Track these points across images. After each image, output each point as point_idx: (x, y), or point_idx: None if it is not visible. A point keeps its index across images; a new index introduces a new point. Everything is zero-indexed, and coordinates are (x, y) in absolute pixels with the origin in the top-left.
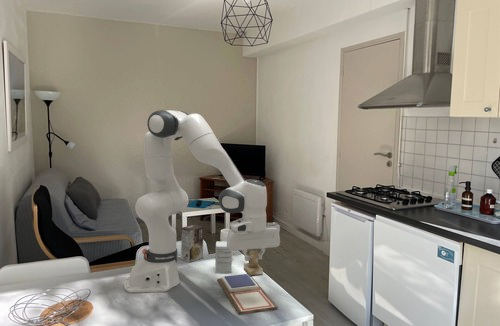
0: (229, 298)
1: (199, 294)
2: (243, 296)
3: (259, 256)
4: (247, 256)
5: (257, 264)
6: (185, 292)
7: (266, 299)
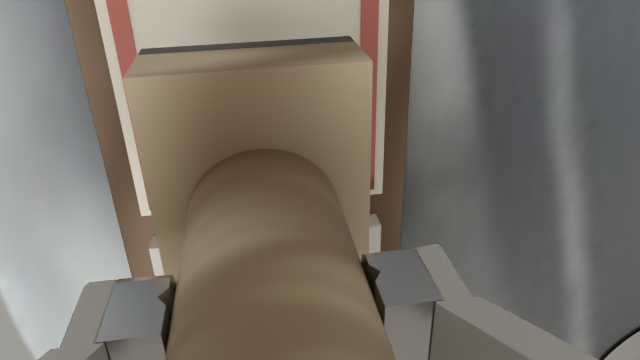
0: (405, 135)
1: (549, 235)
2: None
3: (138, 319)
4: (442, 302)
5: (201, 198)
6: (610, 267)
7: (122, 45)
